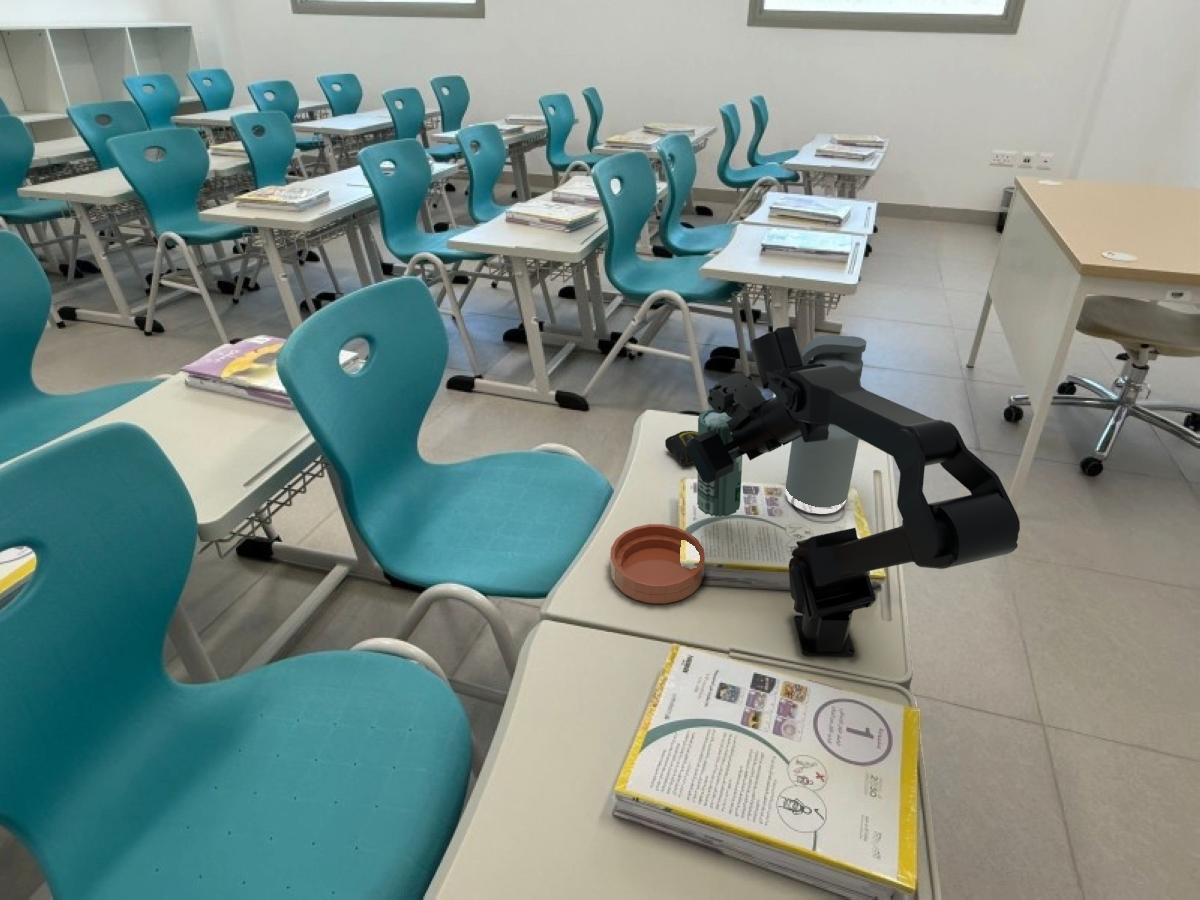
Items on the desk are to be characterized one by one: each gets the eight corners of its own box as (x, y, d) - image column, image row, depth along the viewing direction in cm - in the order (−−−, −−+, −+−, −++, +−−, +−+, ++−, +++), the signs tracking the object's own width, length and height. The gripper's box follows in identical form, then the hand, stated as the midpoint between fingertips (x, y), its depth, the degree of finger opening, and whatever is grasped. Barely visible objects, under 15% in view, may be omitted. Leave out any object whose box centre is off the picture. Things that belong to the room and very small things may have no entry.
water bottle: (779, 512, 115) (801, 351, 100) (783, 478, 123) (804, 324, 108) (846, 521, 112) (879, 357, 97) (846, 486, 120) (876, 329, 105)
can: (747, 507, 108) (752, 420, 100) (714, 521, 105) (716, 432, 98) (722, 488, 112) (725, 403, 105) (690, 501, 110) (690, 415, 102)
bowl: (706, 605, 98) (708, 586, 96) (609, 604, 98) (609, 585, 96) (699, 543, 109) (700, 524, 107) (612, 542, 109) (611, 523, 108)
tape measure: (663, 451, 131) (663, 433, 129) (696, 443, 133) (697, 426, 131) (680, 470, 125) (681, 452, 123) (715, 462, 127) (716, 444, 125)
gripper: (797, 346, 98) (732, 390, 111) (698, 386, 89) (640, 429, 102) (837, 418, 97) (766, 454, 110) (741, 466, 87) (676, 500, 101)
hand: (714, 457), depth 106 cm, fingers closed on can, 6 cm apart
